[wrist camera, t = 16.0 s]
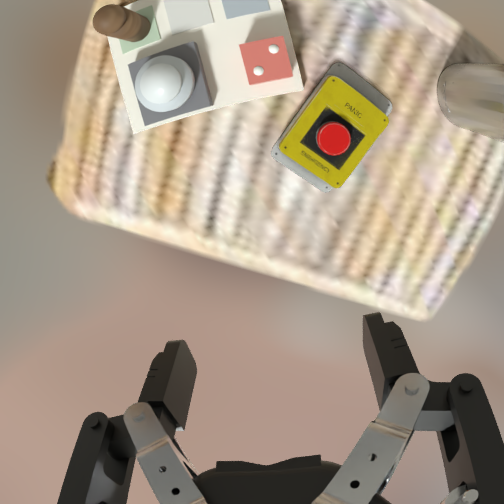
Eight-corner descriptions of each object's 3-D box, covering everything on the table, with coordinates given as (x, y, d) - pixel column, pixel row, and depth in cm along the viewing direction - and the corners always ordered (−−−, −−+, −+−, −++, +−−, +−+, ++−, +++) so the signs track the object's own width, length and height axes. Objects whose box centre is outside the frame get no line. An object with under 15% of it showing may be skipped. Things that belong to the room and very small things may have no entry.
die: (281, 42, 30) (283, 35, 26) (289, 77, 33) (293, 76, 29) (241, 49, 31) (238, 44, 27) (251, 85, 33) (249, 84, 29)
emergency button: (267, 161, 35) (344, 56, 29) (267, 154, 39) (335, 59, 33) (332, 205, 37) (407, 108, 31) (326, 194, 41) (393, 105, 35)
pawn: (146, 11, 28) (114, -6, 20) (153, 35, 30) (121, 23, 22) (120, 22, 29) (83, 11, 21) (126, 46, 31) (89, 39, 23)
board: (269, -32, 27) (269, -43, 24) (302, 90, 34) (306, 90, 31) (108, 18, 30) (95, 13, 27) (138, 132, 37) (127, 136, 34)
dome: (190, 50, 31) (181, 46, 27) (204, 100, 34) (196, 102, 30) (140, 68, 32) (125, 67, 28) (153, 116, 35) (140, 120, 31)
